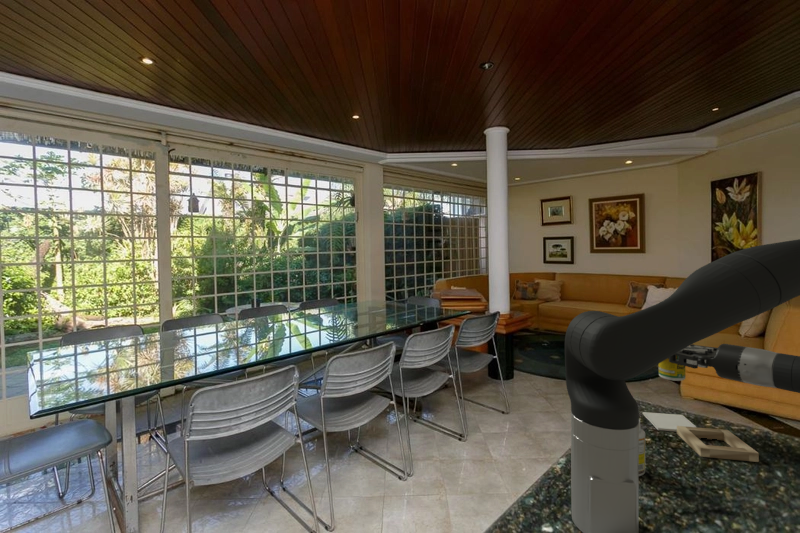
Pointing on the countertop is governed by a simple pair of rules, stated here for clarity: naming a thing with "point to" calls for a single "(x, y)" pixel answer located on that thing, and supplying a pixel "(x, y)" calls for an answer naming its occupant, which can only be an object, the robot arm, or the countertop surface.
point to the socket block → (734, 452)
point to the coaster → (667, 421)
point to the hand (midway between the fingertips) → (659, 349)
